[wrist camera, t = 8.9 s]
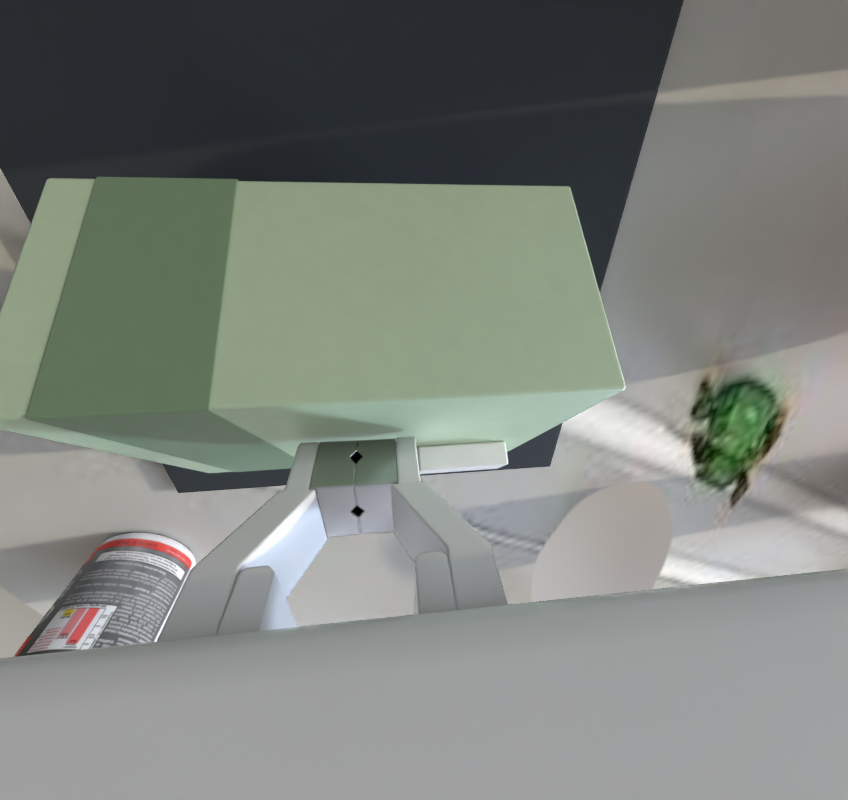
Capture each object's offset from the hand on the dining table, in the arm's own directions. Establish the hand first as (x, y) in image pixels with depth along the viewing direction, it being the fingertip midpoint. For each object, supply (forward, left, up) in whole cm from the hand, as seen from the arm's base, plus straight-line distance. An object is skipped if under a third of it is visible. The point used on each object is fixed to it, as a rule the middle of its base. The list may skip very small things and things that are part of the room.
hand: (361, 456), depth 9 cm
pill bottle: (-15, +15, -8) cm, 23 cm away
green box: (-2, 0, -6) cm, 6 cm away
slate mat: (+1, 0, -8) cm, 8 cm away
